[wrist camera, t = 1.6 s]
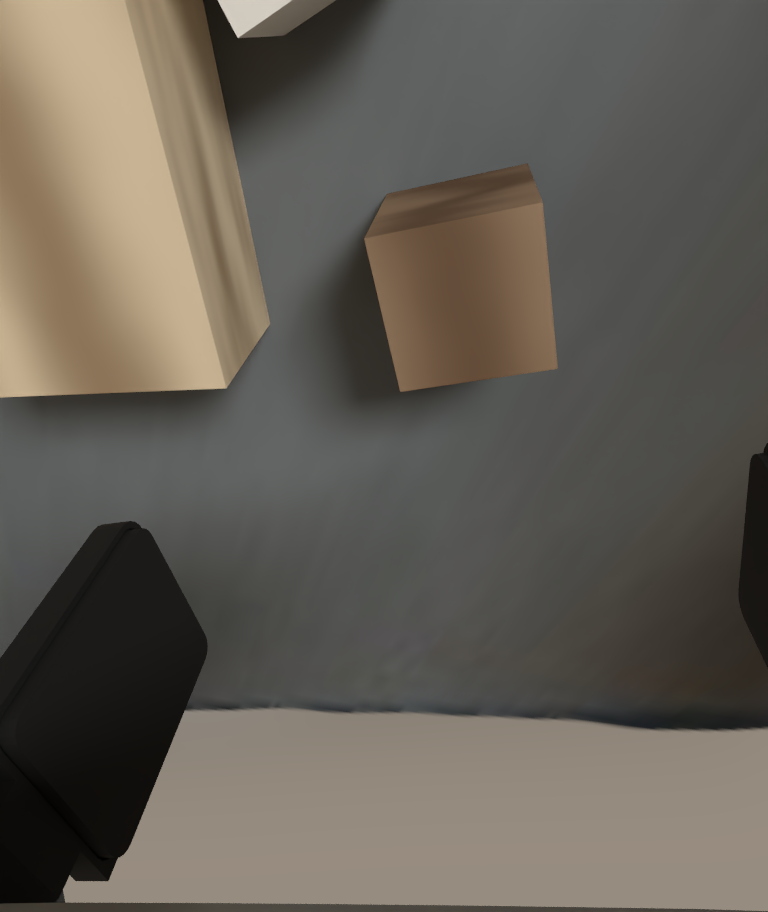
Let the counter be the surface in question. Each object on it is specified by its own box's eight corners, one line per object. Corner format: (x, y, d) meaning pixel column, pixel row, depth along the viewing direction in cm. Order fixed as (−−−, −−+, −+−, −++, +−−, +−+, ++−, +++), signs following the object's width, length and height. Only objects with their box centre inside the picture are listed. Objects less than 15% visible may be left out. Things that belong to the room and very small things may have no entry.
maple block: (180, -122, 19) (79, -171, 14) (271, 321, 27) (226, 388, 22) (-84, -77, 21) (-259, -109, 16) (74, 332, 28) (-11, 397, 23)
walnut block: (527, 163, 22) (542, 202, 17) (540, 300, 25) (557, 368, 20) (387, 193, 23) (364, 238, 19) (414, 322, 26) (400, 392, 21)
